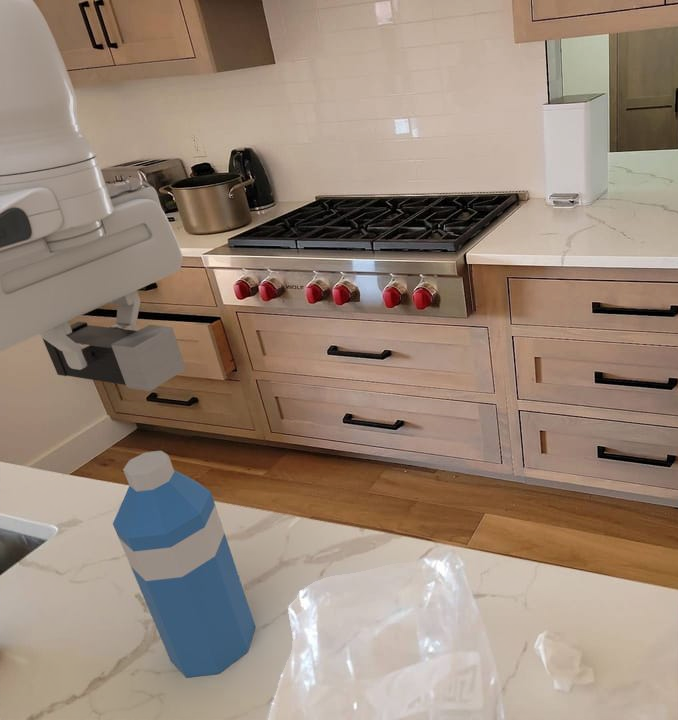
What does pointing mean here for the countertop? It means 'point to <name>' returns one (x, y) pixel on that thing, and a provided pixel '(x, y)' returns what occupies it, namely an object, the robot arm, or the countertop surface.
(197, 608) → the water bottle
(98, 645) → the countertop surface
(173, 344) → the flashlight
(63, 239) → the robot arm
